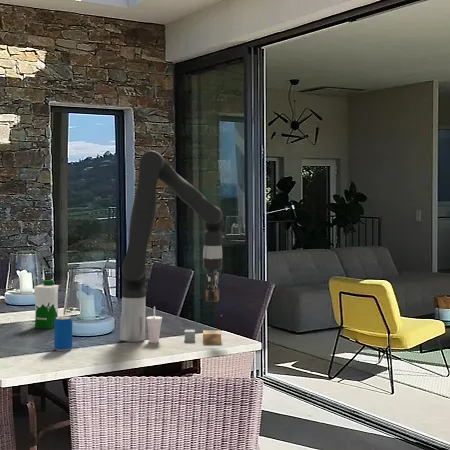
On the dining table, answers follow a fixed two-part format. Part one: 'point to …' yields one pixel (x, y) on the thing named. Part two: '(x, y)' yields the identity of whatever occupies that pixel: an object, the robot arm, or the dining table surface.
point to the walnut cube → (216, 296)
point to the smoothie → (154, 327)
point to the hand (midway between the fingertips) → (212, 299)
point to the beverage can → (63, 333)
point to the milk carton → (46, 304)
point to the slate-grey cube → (189, 335)
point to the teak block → (211, 337)
